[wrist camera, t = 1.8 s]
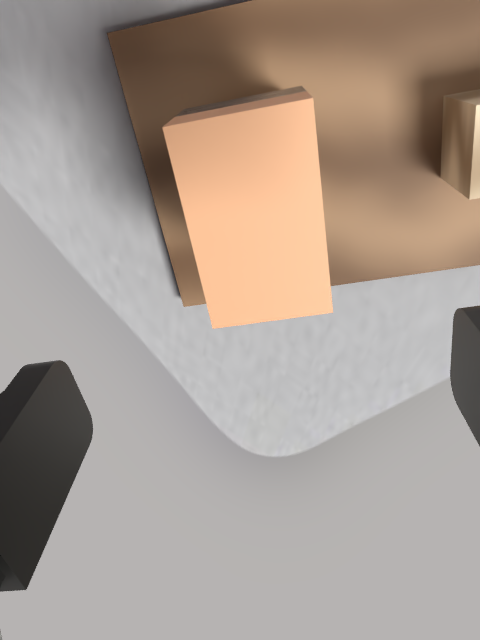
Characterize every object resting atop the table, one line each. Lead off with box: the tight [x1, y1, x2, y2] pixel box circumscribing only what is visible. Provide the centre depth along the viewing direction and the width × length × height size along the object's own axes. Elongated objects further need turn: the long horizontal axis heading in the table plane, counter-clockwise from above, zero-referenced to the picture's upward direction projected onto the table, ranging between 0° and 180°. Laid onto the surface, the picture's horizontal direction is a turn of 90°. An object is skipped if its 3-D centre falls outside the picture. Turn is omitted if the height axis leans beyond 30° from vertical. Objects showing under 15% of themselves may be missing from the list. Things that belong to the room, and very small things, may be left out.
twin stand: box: [107, 0, 480, 307], centre depth 23 cm, size 15×24×5 cm, turn 100°
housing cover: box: [162, 91, 333, 329], centre depth 18 cm, size 8×5×2 cm, turn 10°
